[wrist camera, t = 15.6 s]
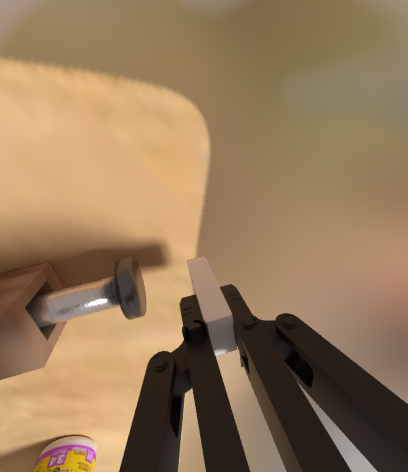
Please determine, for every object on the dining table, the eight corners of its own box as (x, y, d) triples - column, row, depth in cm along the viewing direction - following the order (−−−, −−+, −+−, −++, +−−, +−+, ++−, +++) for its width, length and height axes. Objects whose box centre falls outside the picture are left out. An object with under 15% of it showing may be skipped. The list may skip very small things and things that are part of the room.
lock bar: (6, 327, 18) (-41, 383, 14) (-28, 284, 16) (-94, 333, 12) (147, 290, 20) (145, 329, 16) (132, 246, 18) (125, 277, 14)
